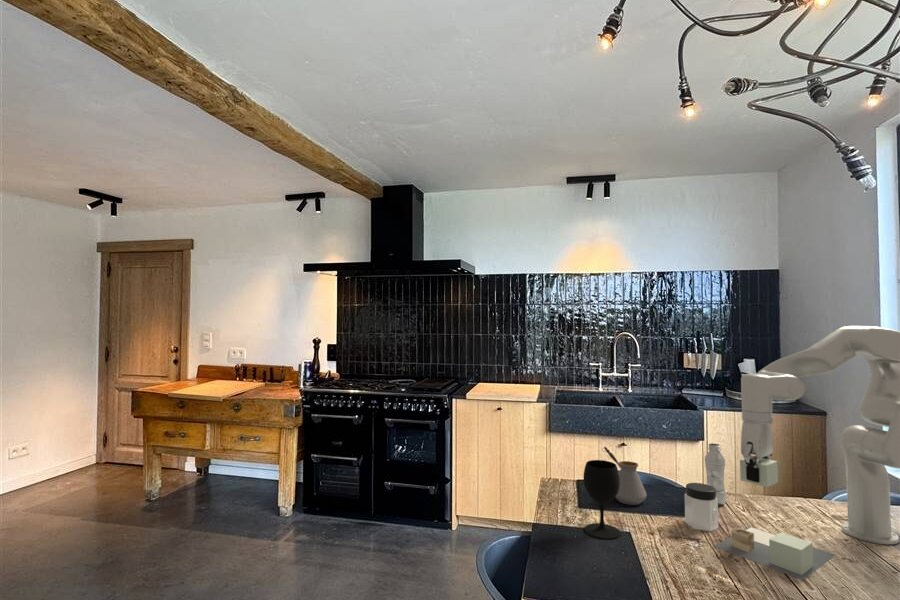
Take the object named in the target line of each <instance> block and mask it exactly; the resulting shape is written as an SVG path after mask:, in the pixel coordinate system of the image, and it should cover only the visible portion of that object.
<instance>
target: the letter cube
mask: <svg viewBox="0 0 900 600" xmlns="http://www.w3.org/2000/svg"><path fill="white" fill-rule="evenodd" d="M730 534H731V536H732V547H735V548H738V549H740V550H743V551H746V552H749V551H750V550H752V549H754V533H752V532H749V531H746V530H745V529H743V528H739V527H737V528H736V529H733V530H731V533H730Z"/></svg>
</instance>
